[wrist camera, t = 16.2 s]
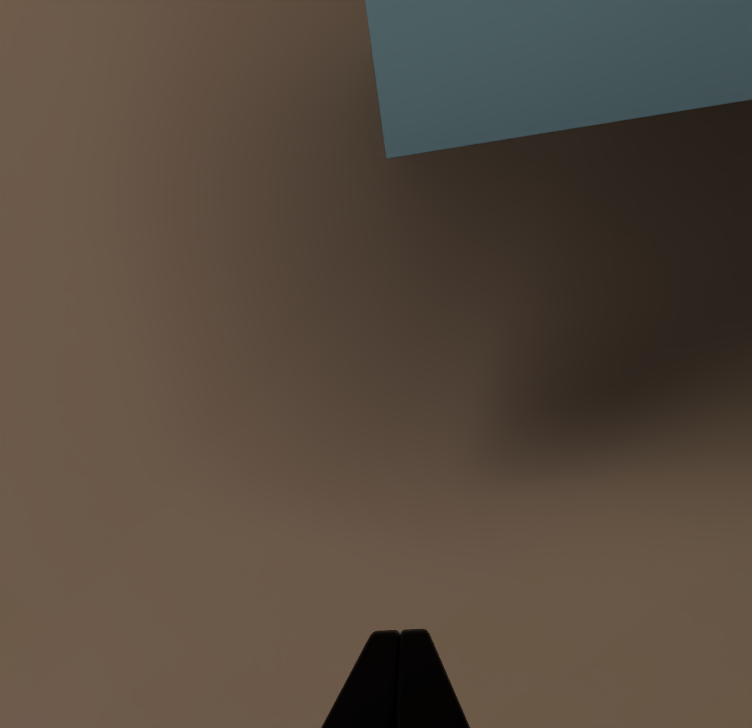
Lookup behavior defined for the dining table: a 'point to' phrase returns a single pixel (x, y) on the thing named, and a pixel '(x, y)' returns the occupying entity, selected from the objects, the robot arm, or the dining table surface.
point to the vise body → (549, 65)
